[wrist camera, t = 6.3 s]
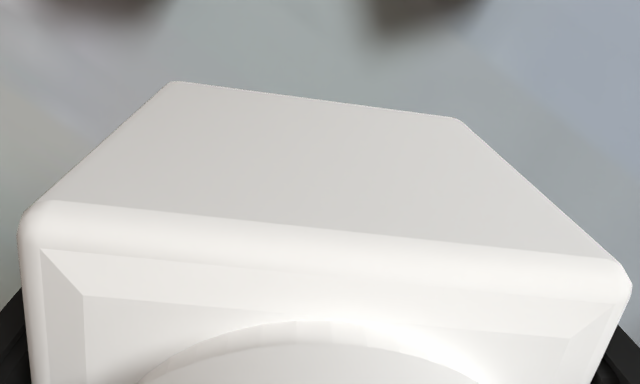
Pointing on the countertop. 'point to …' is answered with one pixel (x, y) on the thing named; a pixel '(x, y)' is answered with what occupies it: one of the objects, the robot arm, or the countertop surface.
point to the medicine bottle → (307, 254)
